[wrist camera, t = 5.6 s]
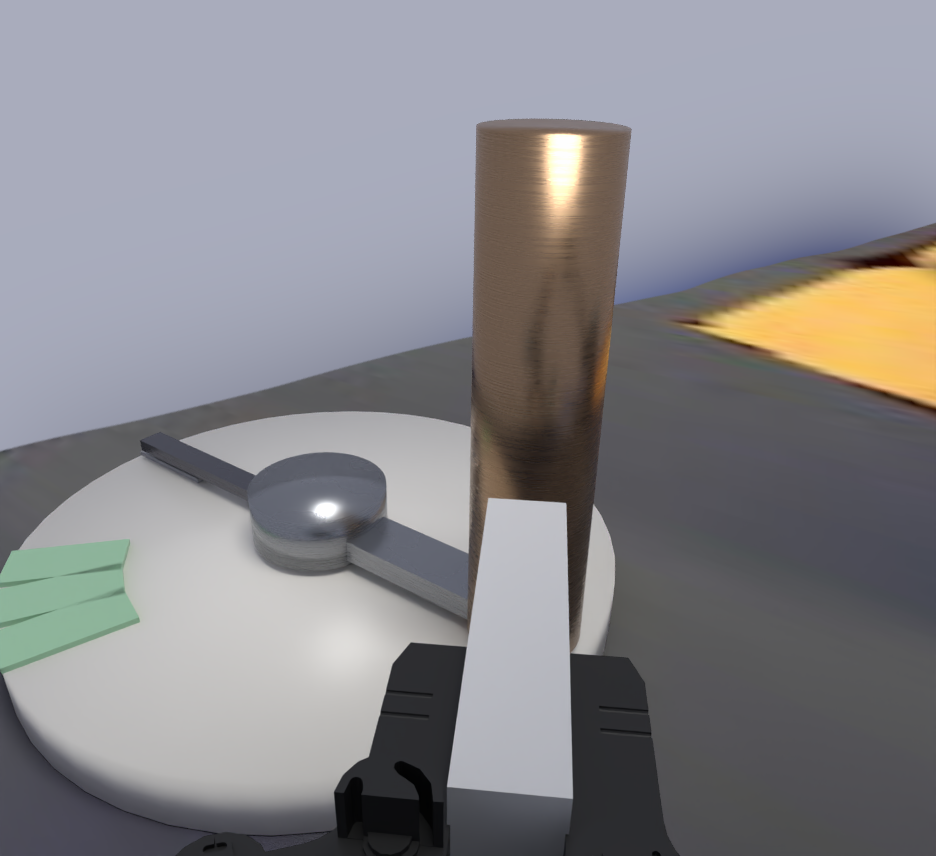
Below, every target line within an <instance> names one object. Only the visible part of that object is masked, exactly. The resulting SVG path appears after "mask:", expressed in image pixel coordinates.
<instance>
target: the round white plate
mask: <svg viewBox="0 0 936 856" xmlns="http://www.w3.org/2000/svg"><path fill="white" fill-rule="evenodd" d="M179 441H181V442H183V443H185V444H187V445H190V446H192V447H194V448H196V449H198V450H201V451H203V452H205V453H207V454H210V455H212V456H214V457H216V458H218V459H221V460H223V461H225V462H227V463H229V464H232V465H234V466H236V467H238V468H240V469H243V470H245V471H247V472H249V473H251V474H254V475H257V474H258V473H259V472H260V471H262V470H263V469H264V468H266V467H268V466H269V465H271V464H273V463H276V462H278V461H280V460H283V459H286V458H289V457H293V456H297V455H302V454H308V453H318V452H335V453H344V454H350V455H354V456H358V457H361V458H364V459H366V460H369V461H371V462H372V463H374V464H375V465H377V466H378V467H379V468H380V469H381V470H382V471H383V473H384V475H385V478H386V489H387V516H388V519H391V520H393V521H395V522H397V523H400V524H402V525H404V526H407V527H409V528H411V529H413V530H416V531H418V532H420V533H423V534H425V535H427V536H429V537H432V538H434V539H436V540H438V541H441V542H443V543H445V544H448V545H450V546H452V547H454V548H457V549H459V550H461V551H464V552H466V553H468V554H469V500H470V447H471V427H468V426H464V425H461V424H456V423H452V422H447V421H443V420H438V419H433V418H426V417H419V416H413V415H405V414H394V413H382V412H352V411H350V412H320V413H308V414H296V415H287V416H280V417H273V418H266V419H260V420H255V421H250V422H245V423H240V424H235V425H231V426H227V427H223V428H219V429H215V430H211V431H207V432H204V433H201V434H197V435H194V436H191V437H188V438H185V439H182V440H179ZM614 585H615V556H614V551H613V547H612V542H611V538H610V534H609V532H608V530H607V528H606V525H605V523H604V521H603V519H602V516H601V515H600V513H599V512H598V510H597V509H596V507H595V506H594V504H593V513H592V523H591V532H590V542H589V552H588V562H587V572H586V582H585V591H584V601H583V611H582V621H581V631H580V638H579V641H578V643H577V645H576V647H575V648H574V650H573V651H572V652H571V653H574V654H587V655H599V656H602V655H603V653H604V649H605V644H606V640H607V635H608V630H609V625H610V617H611V609H612V601H613V593H614ZM468 637H469V634H468V630H467V619H465V618H463V617H461V616H459V615H457V614H455V613H453V612H451V611H448V610H446V609H444V608H442V607H440V606H438V605H436V604H434V603H432V602H430V601H428V600H426V599H424V598H422V597H420V596H418V595H416V594H414V593H412V592H410V591H408V590H406V589H404V588H402V587H400V586H398V585H396V584H394V583H392V582H390V581H388V580H386V579H383V578H381V577H379V576H377V575H375V574H373V573H371V572H369V571H367V570H365V569H363V568H361V567H359V566H357V565H355V564H350V565H347V566H343V567H340V568H335V569H330V570H321V571H302V570H293V569H289V568H284V567H281V566H278V565H276V564H274V563H271V562H270V561H268V560H266V559H265V558H264V557H263V556H261V555H260V554H259V552H258V551H257V549H256V547H255V545H254V541H253V534H252V526H251V518H250V510H249V503H248V501H246V500H244V499H242V498H240V497H238V496H236V495H234V494H232V493H230V492H227V491H225V490H223V489H221V488H219V487H217V486H215V485H213V484H211V483H209V482H207V481H205V480H203V479H200V478H198V477H196V476H194V475H192V474H190V473H188V472H186V471H184V470H182V469H180V468H178V467H176V466H173V465H171V464H169V463H167V462H165V461H163V460H161V459H159V458H157V457H155V456H153V455H151V454H149V453H147V452H144V451H141V456H139V457H137V458H135V459H133V460H131V461H129V462H127V463H125V464H123V465H120V466H119V467H117V468H115V469H113V470H112V471H110V472H108V473H106V474H105V475H103V476H101V477H99V478H98V479H96V480H94V481H93V482H91V483H90V484H88V485H87V486H85V487H84V488H83V489H81V490H80V491H78V492H77V493H75V494H74V495H73V496H71V497H70V498H68V499H67V500H66V501H65V502H64V503H63V504H61V505H60V506H59V507H58V508H57V509H56V510H54V511H53V512H52V513H51V514H50V515H49V516H47V517H46V518H45V519H44V520H43V522H42V523H41V524H40V525H39V526H38V527H37V528H36V529H35V530H34V531H33V532H32V533H31V535H30V536H29V537H28V538H27V539H26V540H25V542H24V543H23V545H22V546H21V548H20V549H19V550H17V551H12V552H11V554H10V556H9V558H8V560H7V562H6V564H5V566H4V568H3V570H2V572H1V574H0V670H1V673H2V674H3V677H4V680H5V683H6V686H7V689H8V692H9V695H10V698H11V701H12V704H13V707H14V710H15V713H16V715H17V717H18V719H19V721H20V723H21V725H22V726H23V728H24V730H25V732H26V734H27V736H28V737H29V739H30V741H31V743H32V744H33V745H34V746H35V747H36V748H37V750H38V751H39V752H40V753H41V754H42V755H43V756H44V757H45V759H46V760H47V761H48V762H49V763H50V764H51V765H52V766H53V768H54V769H56V770H57V771H58V772H60V773H61V774H62V775H64V776H65V777H66V778H68V779H69V780H70V781H72V782H73V783H75V784H76V785H77V786H79V787H80V788H81V789H83V790H84V791H85V792H87V793H89V794H91V795H93V796H95V797H97V798H99V799H101V800H103V801H105V802H107V803H109V804H111V805H113V806H115V807H117V808H119V809H121V810H123V811H126V812H130V813H133V814H136V815H139V816H142V817H145V818H149V819H152V820H155V821H158V822H161V823H164V824H168V825H173V826H178V827H184V828H190V829H196V830H202V831H208V832H214V833H222V832H231V833H238V834H247V835H271V836H273V835H286V834H299V833H312V832H326V831H332V830H334V829H335V828H336V827H337V823H336V811H335V800H334V791H335V789H336V787H337V785H338V783H339V781H340V779H341V777H342V775H343V774H344V773H345V772H347V771H348V770H349V769H350V768H351V767H352V766H353V765H355V764H356V763H357V762H358V761H360V760H363V759H365V758H368V757H369V754H370V750H371V746H372V742H373V738H374V734H375V730H376V726H377V723H378V719H379V716H380V711H381V707H382V703H383V699H384V695H385V694H386V687H387V684H388V680H389V676H390V672H391V668H392V664H393V663H394V662H395V660H396V659H397V658H398V657H399V656H400V654H401V653H402V652H403V651H404V650H405V649H406V647H407V646H408V645H409V644H410V643H411V642H413V643H425V644H438V645H450V646H463V647H467V644H468Z"/></svg>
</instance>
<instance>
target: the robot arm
mask: <svg viewBox="0 0 936 856" xmlns="http://www.w3.org/2000/svg"><path fill="white" fill-rule="evenodd" d="M334 800H335V811H336V823H337V827H336V828H335V829H334V830H333V831H331V832H329V833H327V834H326V835H324V836H322V837H320V838H319V839H316V840H313V841H310V842H307V843H304V844H300V845H295V846H291V847H286V848H281V849H277V850H272V851H267V852H265V851H264V849H263V847H262V845H261V844H260V843H258V842H256V841H255V840H253V839H252V838H250V837H249V836H247V835H245V834H238V833H231V832H222V833H217V834H213V835H208V836H204V837H202V838H200V839H198V840H197V841H195V842H193V843H191V844H189V845H188V846H186V847H184V848H183V849H182V850H181V851H180V852H179V853H178V854H177V855H176V856H680V855H679V854H678V853H677V852H676V850H675V849H674V847H673V845H672V843H671V841H670V840H669V838H668V836H667V832H666V829H665V825H664V821H663V814H662V807H661V799H660V792H659V785H658V777H657V770H656V763H655V755H654V748H653V741H652V738H651V726H650V718H649V715H648V704H647V696H646V689H645V682H644V681H643V679H642V678H641V676H640V675H639V673H638V672H637V670H636V669H635V667H634V666H633V664H632V663H631V661H630V660H629V658H624V657H612V656H599V655H587V654H574V653H570V645H569V601H568V556H567V512H566V503H559V502H544V501H529V500H513V499H498V498H488V504H487V511H486V518H485V525H484V532H483V539H482V546H481V553H480V560H479V567H478V574H477V581H476V588H475V595H474V602H473V609H472V616H471V623H470V630H469V637H468V644H467V647H463V646H450V645H438V644H425V643H413V642H411V643H410V644H409V645H408V646H407V647H406V649H405V650H404V651H403V652H402V653H401V654H400V656H399V657H398V658H397V659H396V660H395V662H394V663H393V664H392V668H391V672H390V676H389V680H388V684H387V687H386V694H385V695H384V699H383V703H382V707H381V711H380V716H379V719H378V723H377V726H376V730H375V734H374V738H373V742H372V746H371V750H370V754H369V757H368V758H365V759H363V760H360V761H358V762H357V763H356V764H355V765H353V766H352V767H351V768H350V769H349V770H348V771H347V772H345V773H344V774H343V775H342V777H341V779H340V781H339V783H338V785H337V787H336V789H335V791H334Z"/></svg>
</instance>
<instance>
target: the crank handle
mask: <svg viewBox="0 0 936 856" xmlns="http://www.w3.org/2000/svg"><path fill="white" fill-rule="evenodd" d="M476 127H477V128H476V180H475V182H476V183H475V233H474V238H475V239H474V287H473V290H474V291H473V340H472V393H471V447H470V500H469V554H468V553H466V552H464V551H461V550H459V549H457V548H454V547H452V546H450V545H448V544H445V543H443V542H441V541H438V540H436V539H434V538H432V537H429V536H427V535H425V534H423V533H420V532H418V531H416V530H413V529H411V528H409V527H407V526H404V525H402V524H400V523H397V522H395V521H393V520H391V519H388V516H387V489H386V478H385V475H384V473H383V471H382V470H381V469H380V468H379V467H378V466H377V465H375V464H374V463H372V462H371V461H369V460H366V459H364V458H361V457H358V456H354V455H350V454H344V453H335V452H318V453H308V454H302V455H297V456H293V457H289V458H286V459H283V460H280V461H278V462H276V463H273V464H271V465H269V466H268V467H266V468H264V469H263V470H262V471H260V472H259V473H258V474H257V475H254V474H251V473H249V472H247V471H245V470H243V469H240V468H238V467H236V466H234V465H232V464H229V463H227V462H225V461H223V460H221V459H218V458H216V457H214V456H212V455H210V454H207V453H205V452H203V451H201V450H198V449H196V448H194V447H192V446H190V445H187V444H185V443H183V442H181V441H179V440H176V439H174V438H172V437H170V436H168V435H165V434H163V433H161V432H159V433H157V434H154V435H152V436H149V437H147V438H145V439H142V440H140V442H141V447H142V451H144V452H147V453H149V454H151V455H153V456H155V457H157V458H159V459H161V460H163V461H165V462H167V463H169V464H171V465H173V466H176V467H178V468H180V469H182V470H184V471H186V472H188V473H190V474H192V475H194V476H196V477H198V478H200V479H203V480H205V481H207V482H209V483H211V484H213V485H215V486H217V487H219V488H221V489H223V490H225V491H227V492H230V493H232V494H234V495H236V496H238V497H240V498H242V499H244V500H246V501H248V503H249V510H250V518H251V526H252V534H253V541H254V545H255V547H256V549H257V551H258V552H259V554H260V555H261V556H263V557H264V558H265V559H266V560H268V561H270V562H271V563H274V564H276V565H278V566H281V567H284V568H289V569H293V570H302V571H321V570H330V569H335V568H340V567H343V566H347V565H350V564H355V565H357V566H359V567H361V568H363V569H365V570H367V571H369V572H371V573H373V574H375V575H377V576H379V577H381V578H383V579H386V580H388V581H390V582H392V583H394V584H396V585H398V586H400V587H402V588H404V589H406V590H408V591H410V592H412V593H414V594H416V595H418V596H420V597H422V598H424V599H426V600H428V601H430V602H432V603H434V604H436V605H438V606H440V607H442V608H444V609H446V610H448V611H451V612H453V613H455V614H457V615H459V616H461V617H463V618H465V619H467V630H468V634H469V630H470V623H471V616H472V609H473V602H474V595H475V588H476V581H477V574H478V567H479V560H480V553H481V546H482V539H483V532H484V525H485V518H486V511H487V504H488V498H498V499H513V500H529V501H544V502H559V503H566V512H567V556H568V601H569V645H570V653H571V652H572V651H573V650H574V648H575V647H576V645H577V643H578V641H579V638H580V631H581V621H582V611H583V601H584V591H585V582H586V572H587V562H588V552H589V542H590V532H591V523H592V513H593V503H594V493H595V483H596V473H597V464H598V454H599V444H600V434H601V424H602V414H603V405H604V395H605V385H606V375H607V365H608V356H609V346H610V336H611V326H612V316H613V306H614V296H615V287H616V276H617V267H618V257H619V247H620V238H621V228H622V218H623V208H624V198H625V188H626V179H627V169H628V158H629V149H630V139H631V128H629V127H626V126H623V125H618V124H612V123H605V122H595V121H583V120H567V119H566V120H565V119H508V120H494V121H487V122H482V123H479V124H477V126H476Z"/></svg>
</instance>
